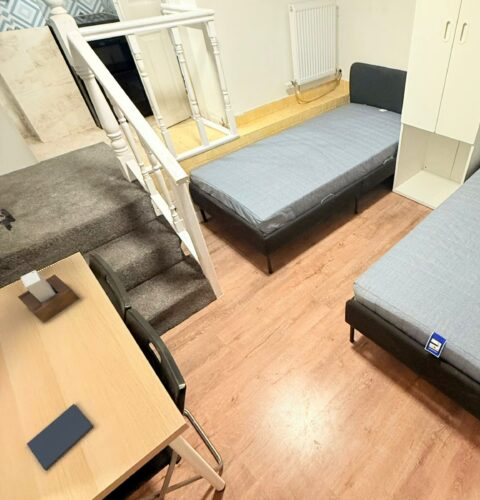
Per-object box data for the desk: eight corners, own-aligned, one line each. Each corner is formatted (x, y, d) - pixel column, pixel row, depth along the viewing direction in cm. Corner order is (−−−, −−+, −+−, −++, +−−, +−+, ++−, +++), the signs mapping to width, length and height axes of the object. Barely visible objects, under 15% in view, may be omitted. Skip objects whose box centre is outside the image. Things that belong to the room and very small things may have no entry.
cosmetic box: (44, 301, 108) (19, 276, 100) (58, 293, 111) (35, 269, 102) (49, 311, 105) (24, 287, 97) (64, 303, 107) (41, 279, 99)
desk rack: (43, 322, 102) (33, 313, 99) (27, 306, 107) (17, 296, 104) (79, 298, 109) (71, 288, 105) (63, 283, 114) (54, 274, 110)
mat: (46, 470, 74) (44, 469, 74) (28, 444, 78) (26, 443, 78) (93, 426, 80) (92, 425, 80) (75, 404, 84) (73, 403, 84)
